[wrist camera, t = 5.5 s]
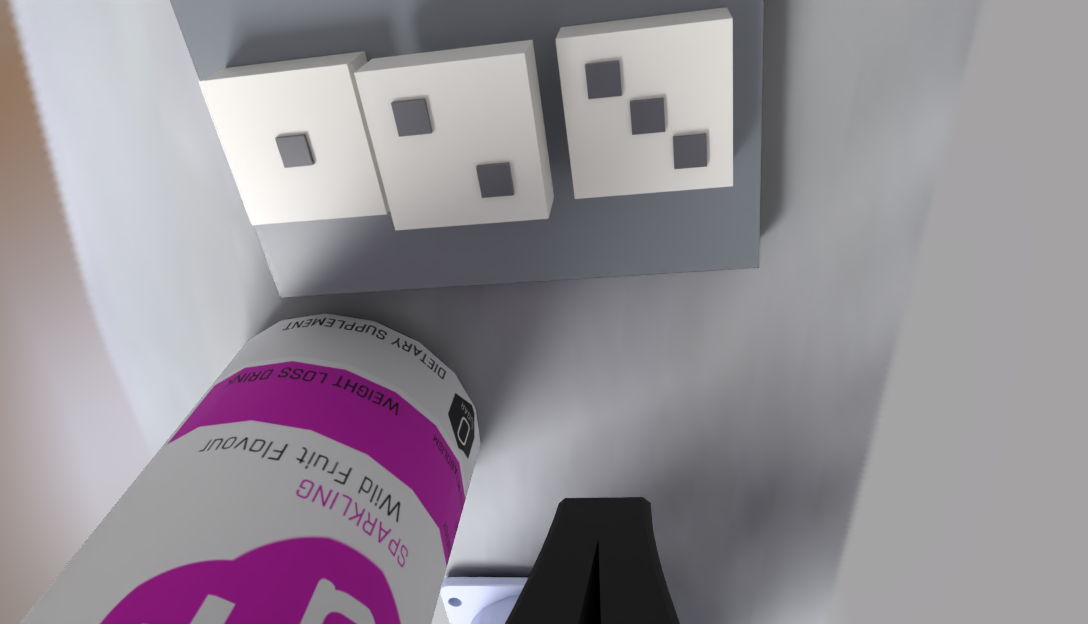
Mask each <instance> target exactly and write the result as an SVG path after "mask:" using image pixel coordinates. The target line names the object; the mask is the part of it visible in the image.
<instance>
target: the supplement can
mask: <svg viewBox="0 0 1088 624" xmlns="http://www.w3.org/2000/svg"><path fill="white" fill-rule="evenodd" d="M480 444H481V443H480V435H479V428H478V421H477V414H476V408H475V407H474V405H473V403H472V402H471V400H470V398H469V396H468V395H467V393H466V391H465V390H464V388H463V386H462V385H461V383H460V381H459V380H458V378H457V376H456V374H455V373H454V372H453V371H452V370H451V369H449V368H448V367H447V366H446V365H445V364H444V363H443V362H441V361H440V360H439V359H438V358H437V357H436V356H435V355H433V354H432V353H431V352H430V351H429V350H428V349H426V348H425V347H424V346H423V345H422V344H421V343H420V342H418V341H416V340H414V339H411V338H409V337H407V336H405V335H403V334H401V333H398V332H396V331H394V330H392V329H390V328H388V327H386V326H383V325H381V324H379V323H377V322H375V321H370V320H364V319H358V318H352V317H345V316H339V315H333V314H326V313H325V314H318V315H312V316H305V317H299V318H292V319H286V320H281V321H279V322H278V323H276V324H274V325H273V326H271V327H269V328H268V329H266V330H264V331H263V332H261V333H259V334H258V335H256V336H254V337H253V338H251V339H249V340H248V341H247V343H246V344H245V345H244V346H243V348H242V349H241V350H240V351H239V352H238V354H237V355H236V356H235V357H234V359H233V360H232V361H231V362H230V364H229V365H228V366H227V367H226V369H225V370H224V371H223V372H222V373H221V375H220V376H219V377H218V378H217V380H216V381H215V382H214V383H213V385H212V386H211V387H210V388H209V390H208V391H207V392H206V393H205V394H204V396H203V397H202V398H201V399H200V401H199V402H198V403H197V404H196V406H195V407H194V408H193V409H192V411H191V412H190V413H189V414H188V415H187V417H186V418H185V419H184V420H183V422H182V423H181V424H180V425H179V427H178V428H177V429H176V430H175V432H174V433H173V434H172V435H171V436H170V438H169V439H168V440H167V441H166V443H165V444H164V445H163V446H162V448H161V449H160V450H159V451H158V453H157V454H156V455H155V456H154V457H153V459H152V460H151V461H150V462H149V464H148V465H147V466H146V467H145V469H144V470H143V471H142V472H141V474H140V475H139V476H138V477H137V479H136V480H135V481H134V482H133V484H132V485H131V486H130V487H129V488H128V490H127V491H126V492H125V493H124V495H123V496H122V497H121V498H120V499H119V501H118V502H117V503H116V504H115V506H114V507H113V508H112V509H111V511H110V512H109V513H108V514H107V516H106V517H105V518H104V519H103V521H102V522H101V523H100V524H99V526H98V527H97V528H96V529H95V530H94V532H93V533H92V534H91V535H90V537H89V538H88V539H87V540H86V541H85V543H84V544H83V545H82V546H81V548H80V549H79V550H78V552H77V553H76V554H75V555H74V556H73V557H72V559H71V560H70V561H69V562H68V564H67V565H66V566H65V567H64V569H63V570H62V571H61V572H60V574H59V575H58V576H57V577H56V579H55V580H54V581H53V582H52V583H51V585H50V586H49V587H48V588H47V590H46V591H45V592H44V594H43V595H42V596H41V597H40V598H39V600H38V601H37V602H36V603H35V604H34V606H33V607H32V608H31V609H30V611H29V612H28V613H27V614H26V616H25V617H24V618H23V619H22V620H21V622H20V623H19V624H431V622H432V618H433V615H434V611H435V608H436V604H437V600H438V597H439V593H440V589H441V586H442V582H443V579H444V575H445V571H446V568H447V564H448V560H449V557H450V553H451V550H452V546H453V542H454V539H455V535H456V531H457V528H458V524H459V521H460V517H461V513H462V510H463V506H464V502H465V499H466V495H467V492H468V488H469V484H470V481H471V477H472V473H473V470H474V466H475V463H476V459H477V455H478V452H479V448H480Z"/></svg>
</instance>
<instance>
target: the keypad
mask: <svg viewBox="0 0 1088 624" xmlns="http://www.w3.org/2000/svg"><path fill="white" fill-rule="evenodd" d="M170 2H171V5H172V7H173V10H174V13H175V15H176V18H177V21H178V23H179V26H180V29H181V31H182V34H183V37H184V40H185V42H186V45H187V48H188V50H189V53H190V56H191V58H192V61H193V64H194V67H195V69H196V72H197V75H198V77H199V80H202V79H204V78H206V77H208V76H210V75H212V74H214V73H216V72H218V71H220V70H221V69H223V68H229V67H237V66H245V65H254V64H262V63H270V62H278V61H287V60H295V59H303V58H312V57H320V56H328V55H336V54H345V53H353V52H361V51H365V54H366V58H367V61H368V62H369V61H370V60H371V59H374V58H382V57H391V56H399V55H407V54H416V53H424V52H433V51H441V50H450V49H458V48H466V47H475V46H483V45H492V44H500V43H508V42H517V41H525V40H533V46H534V54H535V61H536V68H537V75H538V83H539V90H540V97H541V105H542V112H543V119H544V127H545V134H546V141H547V148H548V156H549V163H550V170H551V178H552V185H553V192H554V199H553V203H552V207H551V211H550V215H549V218H548V219H538V220H525V221H512V222H499V223H486V224H473V225H460V226H447V227H434V228H421V229H408V230H395V227H394V223H393V220H392V216H391V212H390V211H389V212H388V214H386V215H374V216H361V217H349V218H336V219H324V220H312V221H299V222H287V223H274V224H262V225H253V226H254V228H255V231H256V234H257V236H258V239H259V242H260V244H261V247H262V250H263V253H264V255H265V258H266V261H267V263H268V266H269V269H270V271H271V274H272V277H273V280H274V282H275V285H276V288H277V290H278V293H279V296H280V297H296V296H312V295H328V294H344V293H360V292H376V291H392V290H408V289H424V288H441V287H457V286H473V285H489V284H505V283H521V282H537V281H553V280H569V279H585V278H601V277H617V276H633V275H649V274H665V273H681V272H697V271H713V270H729V269H746V268H759V244H760V188H761V132H762V75H763V19H764V0H170ZM725 7H727V9H728V10H729V12H730V14H731V16H732V18H733V186H730V187H718V188H706V189H693V190H681V191H668V192H656V193H644V194H631V195H619V196H606V197H594V198H582V199H575V196H574V188H573V180H572V172H571V164H570V155H569V147H568V139H567V131H566V123H565V114H564V106H563V98H562V90H561V81H560V73H559V65H558V57H557V49H556V40H555V39H556V37H557V35H558V33H559V30H560V28H561V27H567V26H576V25H584V24H592V23H601V22H609V21H617V20H625V19H634V18H642V17H650V16H658V15H667V14H675V13H683V12H692V11H700V10H708V9H716V8H725Z"/></svg>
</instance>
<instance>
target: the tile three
mask: <svg viewBox="0 0 1088 624" xmlns="http://www.w3.org/2000/svg"><path fill="white" fill-rule="evenodd" d="M555 40H556V49H557V57H558V65H559V73H560V81H561V90H562V98H563V106H564V114H565V123H566V131H567V139H568V147H569V155H570V164H571V172H572V180H573V188H574V196H575V199H582V198H594V197H606V196H619V195H631V194H644V193H656V192H668V191H681V190H693V189H706V188H718V187H730V186H733V18H732V16H731V14H730V12H729V10H728V9H727V7H725V8H716V9H708V10H700V11H692V12H683V13H675V14H667V15H658V16H650V17H642V18H634V19H625V20H617V21H609V22H601V23H592V24H584V25H576V26H567V27H561V28H560V30H559V33H558V35H557V37H556V39H555Z"/></svg>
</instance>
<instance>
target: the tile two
mask: <svg viewBox="0 0 1088 624" xmlns="http://www.w3.org/2000/svg"><path fill="white" fill-rule="evenodd" d="M354 75H355V79H356V83H357V86H358V90H359V94H360V98H361V102H362V105H363V109H364V113H365V117H366V121H367V124H368V128H369V132H370V136H371V140H372V143H373V147H374V151H375V155H376V159H377V162H378V166H379V170H380V174H381V178H382V181H383V185H384V189H385V193H386V197H387V201H388V204H389V208H390V212H391V216H392V220H393V223H394V227H395V230H408V229H421V228H434V227H447V226H460V225H473V224H486V223H499V222H512V221H525V220H538V219H548V218H549V215H550V211H551V207H552V203H553V199H554V192H553V185H552V178H551V170H550V163H549V156H548V148H547V141H546V134H545V127H544V119H543V112H542V105H541V97H540V90H539V83H538V75H537V68H536V61H535V54H534V46H533V40H525V41H517V42H508V43H500V44H492V45H483V46H475V47H466V48H458V49H450V50H441V51H433V52H424V53H416V54H407V55H399V56H391V57H382V58H374V59H371V60H370V61H369V62H367V63H366V64H365V65H364V66H362V67H361V68H360V69H358V70H357V71H356V72H354Z"/></svg>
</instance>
